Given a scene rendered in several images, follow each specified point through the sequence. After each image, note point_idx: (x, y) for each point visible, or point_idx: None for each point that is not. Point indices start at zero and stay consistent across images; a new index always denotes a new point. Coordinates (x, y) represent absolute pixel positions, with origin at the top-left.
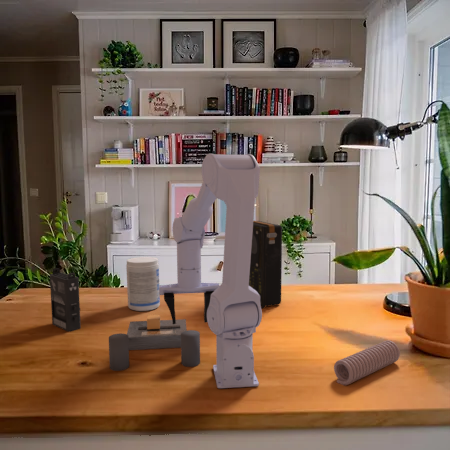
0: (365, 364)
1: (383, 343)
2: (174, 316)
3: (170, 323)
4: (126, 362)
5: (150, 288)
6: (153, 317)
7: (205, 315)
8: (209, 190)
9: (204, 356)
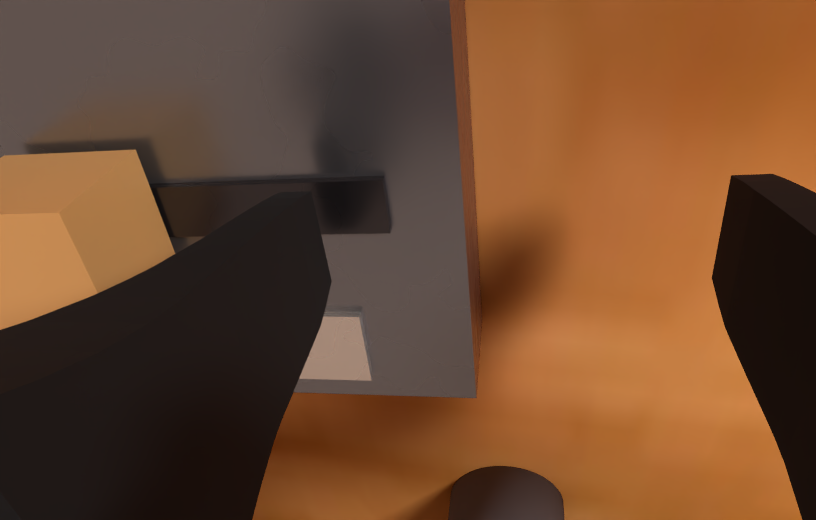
0: None
1: None
2: (294, 371)
3: (243, 75)
4: None
5: None
6: (31, 304)
7: (753, 371)
8: None
9: (602, 453)
